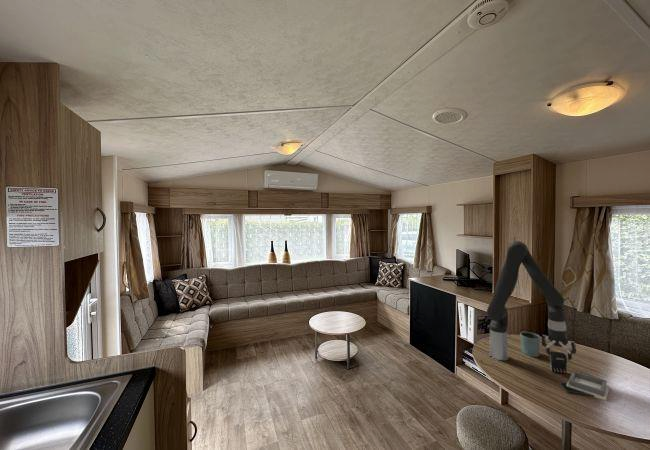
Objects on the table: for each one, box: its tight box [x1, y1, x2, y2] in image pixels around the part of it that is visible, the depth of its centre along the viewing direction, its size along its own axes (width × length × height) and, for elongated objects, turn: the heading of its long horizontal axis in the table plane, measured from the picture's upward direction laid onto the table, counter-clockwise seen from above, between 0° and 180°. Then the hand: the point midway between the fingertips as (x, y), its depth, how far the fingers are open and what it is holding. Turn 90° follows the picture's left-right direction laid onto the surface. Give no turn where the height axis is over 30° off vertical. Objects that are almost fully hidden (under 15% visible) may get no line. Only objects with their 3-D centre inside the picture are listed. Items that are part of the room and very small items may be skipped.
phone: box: [559, 382, 595, 398], centre depth 131 cm, size 8×1×15 cm
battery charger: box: [549, 350, 568, 375], centre depth 147 cm, size 7×4×11 cm, turn 67°
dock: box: [566, 370, 610, 402], centre depth 133 cm, size 14×14×4 cm
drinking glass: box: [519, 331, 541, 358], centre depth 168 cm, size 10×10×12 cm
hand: (559, 356), depth 146 cm, fingers open, 8 cm apart
